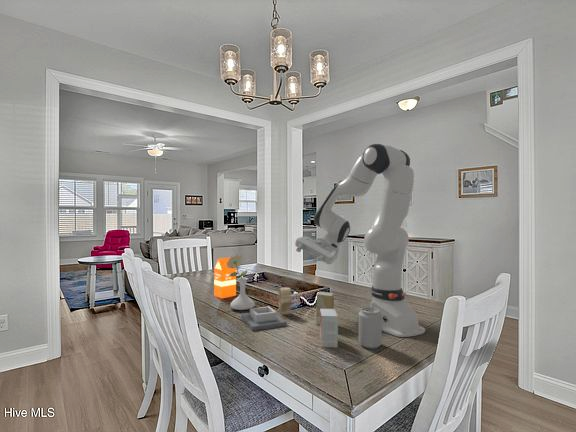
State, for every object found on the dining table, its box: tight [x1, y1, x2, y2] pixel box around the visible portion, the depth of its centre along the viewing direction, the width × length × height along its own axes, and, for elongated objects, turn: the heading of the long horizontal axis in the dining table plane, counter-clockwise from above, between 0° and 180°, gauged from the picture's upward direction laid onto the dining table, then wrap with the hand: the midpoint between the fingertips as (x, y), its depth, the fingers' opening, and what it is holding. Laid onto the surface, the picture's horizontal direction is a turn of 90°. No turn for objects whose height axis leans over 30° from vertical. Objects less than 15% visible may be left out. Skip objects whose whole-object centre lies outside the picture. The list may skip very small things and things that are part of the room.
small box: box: [318, 308, 339, 348], centre depth 107 cm, size 8×6×10 cm
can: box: [358, 306, 383, 350], centre depth 105 cm, size 8×8×12 cm
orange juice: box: [213, 256, 237, 299], centre depth 166 cm, size 8×9×20 cm
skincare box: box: [315, 291, 335, 326], centre depth 125 cm, size 6×4×12 cm
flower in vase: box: [227, 254, 256, 311], centre depth 144 cm, size 13×11×25 cm
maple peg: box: [278, 286, 292, 316], centre depth 137 cm, size 4×4×11 cm
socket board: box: [240, 305, 288, 332], centre depth 127 cm, size 16×14×4 cm
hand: (305, 254), depth 138 cm, fingers open, 8 cm apart
